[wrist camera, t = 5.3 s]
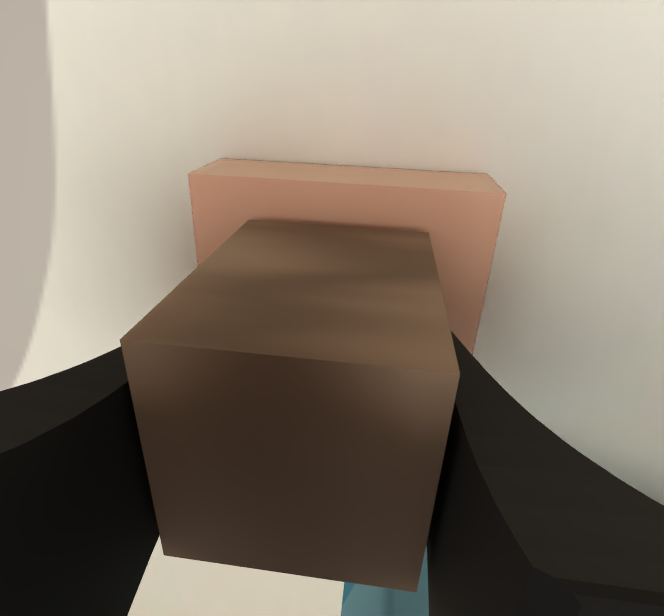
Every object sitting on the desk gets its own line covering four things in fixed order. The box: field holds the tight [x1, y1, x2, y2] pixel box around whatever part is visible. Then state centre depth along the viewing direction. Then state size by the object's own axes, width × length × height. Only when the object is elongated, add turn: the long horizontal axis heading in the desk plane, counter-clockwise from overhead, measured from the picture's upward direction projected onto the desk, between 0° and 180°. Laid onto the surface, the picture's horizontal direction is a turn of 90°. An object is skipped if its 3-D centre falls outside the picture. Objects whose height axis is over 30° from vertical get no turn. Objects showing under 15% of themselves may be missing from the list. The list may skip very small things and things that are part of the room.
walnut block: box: [120, 220, 460, 592], centre depth 10 cm, size 4×4×6 cm
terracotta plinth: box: [188, 158, 506, 354], centre depth 14 cm, size 8×7×2 cm
